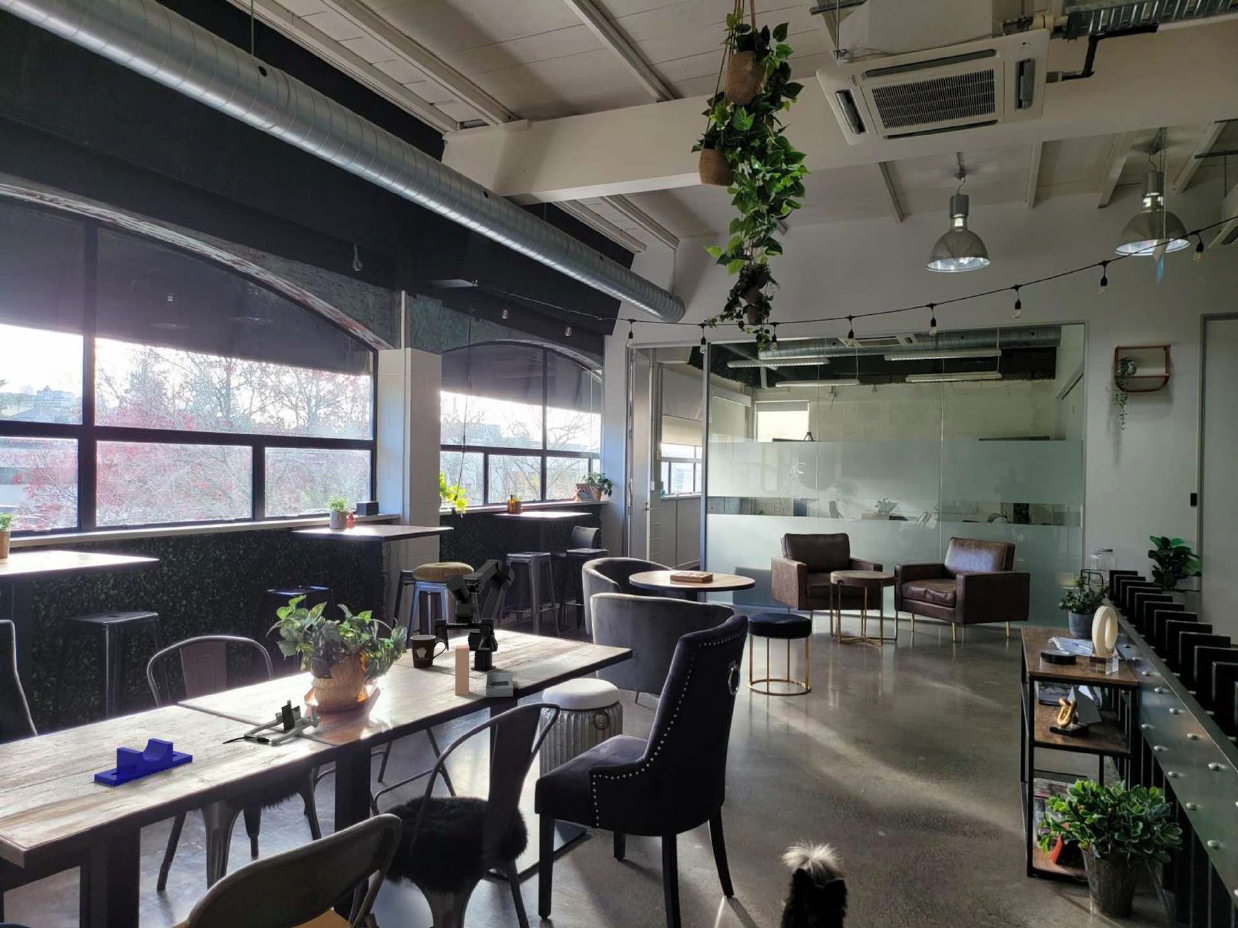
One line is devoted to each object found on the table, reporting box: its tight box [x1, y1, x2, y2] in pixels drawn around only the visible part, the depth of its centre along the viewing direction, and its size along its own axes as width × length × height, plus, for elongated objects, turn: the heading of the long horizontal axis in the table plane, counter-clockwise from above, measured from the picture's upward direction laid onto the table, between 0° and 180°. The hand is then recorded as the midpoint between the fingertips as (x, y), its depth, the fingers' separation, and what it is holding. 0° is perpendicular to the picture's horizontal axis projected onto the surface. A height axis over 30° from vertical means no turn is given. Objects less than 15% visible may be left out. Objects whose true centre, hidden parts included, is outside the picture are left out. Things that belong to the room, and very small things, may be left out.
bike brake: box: [221, 699, 322, 746], centre depth 209 cm, size 14×7×20 cm
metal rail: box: [485, 672, 514, 698], centre depth 258 cm, size 20×8×2 cm, turn 8°
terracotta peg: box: [454, 645, 470, 696], centre depth 253 cm, size 4×4×14 cm
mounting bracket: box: [93, 737, 194, 788], centre depth 185 cm, size 18×7×6 cm, turn 152°
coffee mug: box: [410, 634, 447, 669], centre depth 288 cm, size 12×9×10 cm
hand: (463, 649), depth 258 cm, fingers open, 9 cm apart
